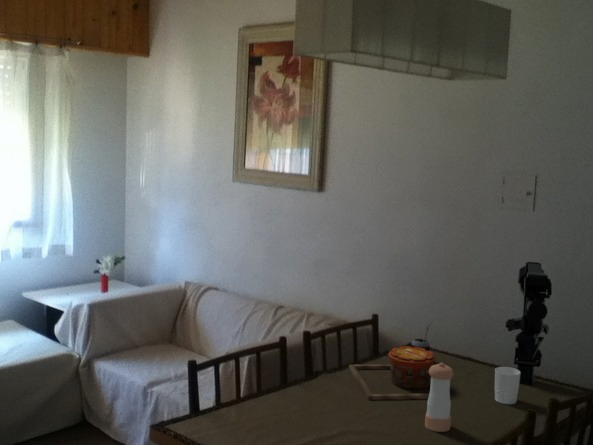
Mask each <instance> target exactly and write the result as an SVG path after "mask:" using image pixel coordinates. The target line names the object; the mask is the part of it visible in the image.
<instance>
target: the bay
mask: <svg viewBox="0 0 593 445" xmlns="http://www.w3.org/2000/svg"><path fill="white" fill-rule="evenodd" d="M348 369H349V370H350V372H351V374H352V375H353V377H354V379H355V380H356V382H357V384H358V385H359V387H360V389H361V390H362V392H363V394H364V396H365V398H367V400H368V401H371V400H375V401H377V400H378V401H380V400H381V401H382V400H387V401H388V400H428V398H429V394H430V392H429V393H378V394H377V393H372V392H371V390H370V389H369V386H368V385H367V384H366V381H365V380H364V379H363V377H362V376H361V375H360V373H359V371H358V370H391V365H390V364H389V363H388V364H386V363H385V364H381V363H380V364H375V363H374V364H348Z"/></svg>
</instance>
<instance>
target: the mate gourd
mask: <svg viewBox="0 0 593 445" xmlns="http://www.w3.org/2000/svg"><path fill="white" fill-rule="evenodd" d="M432 322H433V320H430V321H429V323H428V324H427V325H426V327H425V328H426V330H425V333H424V337H423V338H415V339H413V340H412V341H411V345H410V347H413V348H414V347H419V348H423V349H426V351H431V347H430V343H429V341H428V340H427V339H426V338H427V335H428V331H429V328H430V325H432V324H431V323H432Z"/></svg>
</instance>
